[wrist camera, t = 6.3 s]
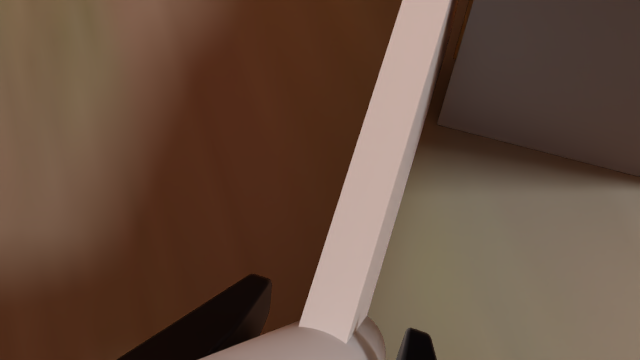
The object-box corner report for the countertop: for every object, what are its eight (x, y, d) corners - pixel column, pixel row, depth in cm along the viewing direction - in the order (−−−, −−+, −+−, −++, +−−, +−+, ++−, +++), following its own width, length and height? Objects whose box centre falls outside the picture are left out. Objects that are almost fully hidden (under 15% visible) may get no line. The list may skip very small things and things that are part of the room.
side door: (371, 411, 14) (320, 771, 4) (288, 379, 15) (33, 616, 4) (474, 49, 16) (639, -401, 6) (398, 32, 17) (415, -411, 6)
